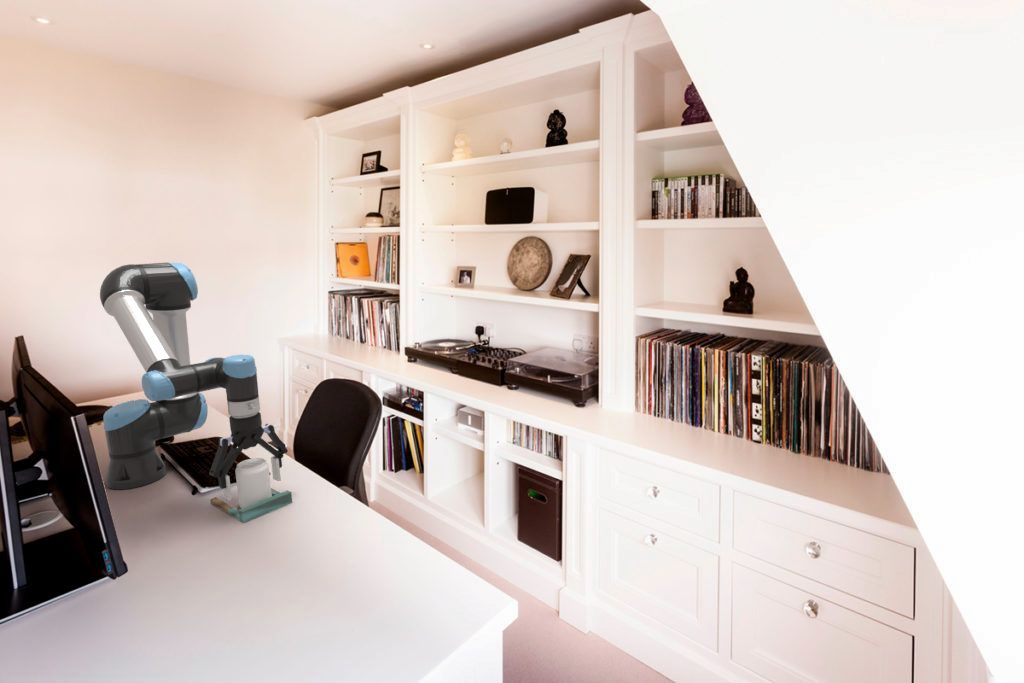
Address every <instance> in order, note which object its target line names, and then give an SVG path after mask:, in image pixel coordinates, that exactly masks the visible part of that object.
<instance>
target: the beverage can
mask: <svg viewBox="0 0 1024 683" xmlns="http://www.w3.org/2000/svg"><path fill="white" fill-rule="evenodd" d="M269 468H270V467H269V463H268V462H267V460H266V459H265V458H260V457H253V458H249V459H245V460H242V461H240V462H238V464H236V468H235V473H234V474H235V478H236V489H237V494H238V495H237V496H238V504H239V508H240V509H242V508H245V507H247V506H250V505H252V504H255V503H257V502H260V501H262V500H265V499H267V498H269V497H272V494H271V488H272V487H271V477H270V469H269Z"/></svg>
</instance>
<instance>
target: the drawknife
mask: <svg viewBox="0 0 1024 683" xmlns="http://www.w3.org/2000/svg"><path fill="white" fill-rule="evenodd" d="M271 494H272V497H269V498H267V499H265V500H262V501H260V502H257V503H255V504H252V505H250V506H247V507H245V508H240V509H237V508H235V507H233V506H232V505H230V504H229V503H227V502H225V501H224V500H222V499H221V498H218V497H217V496H215V497H213V498H210V504H211V505H213V506H214V507H216V508H218V509H219V510H221V511H223V512H224V513H226V514H228V515H230V516H231V517H233V518H234V519H236V520H238V521H240V522H241V523H243V524H245V523H247V522H250V521H253V520H254V519H257V518H259V517H262V516H264V515H266V514H268V513H271V512H273V511H275V510H278V509H280V508H283V507H285V506H287V505H289V504H291V503H293V498H292V491H289V490H285V491H282V492H280V491H278V490H276V489H274V488H272V487H271Z"/></svg>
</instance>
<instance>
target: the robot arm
mask: <svg viewBox="0 0 1024 683" xmlns="http://www.w3.org/2000/svg"><path fill="white" fill-rule="evenodd" d="M99 290H100V291H99V298H100V302H101V305H102V307H103V309H104V311H105V312H106V314H108V315H109V316H111V317H114V320H115V321H116V323H117V324H118V326H119V328H120V330H121V331H122V333H123V335H124V337H125V338H126V340H127V342H128V344H129V345H130V347H131V349H132V351H133V352H134V354H135V356H136V358H137V360H138V361H139V363H140V364H141V366H142V368H143V369H144V371H145V373H143V375H142V377H141V386H142V390H143V393H144V395H145V397H146V399H145V398H142V399H136V400H135V399H134V400H129V401H128V400H127V401H125V402H122V403H119V404H116V405H114V406H112V407H110V408H109V409H107V410H106V411H105V412H104V414H103V419H102V420H103V430H104V433H105V434H104V435H105V439H106V446H107V451H108V456H109V457H108V458H109V461H108V466H107V470H106V475H105V485H106V487H107V488H109V489H112V490H127V489H134V488H138V487H143V486H146V485H149V484H152V483H154V482H157V481H158V480H160V479H162V478H163V477H164V476H166V475H167V468H166V464H165V463H164V461H163V459H162V458H161V456H160V454H159V453H158V451H157V446H156V441H158V440H162V439H165V438H170V437H173V436H178V435H180V434H185V433H190V432H192V431H194V430H198V429H200V428H202V427H203V426H204V425H205V424H206V421H207V419H208V411H209V410H208V404H207V400H206V398H205V395H204V394H202V392H206V391H210V390H215V389H219V388H222V389H224V390H225V393H226V394H225V395H226V401H227V409H228V410H227V411H228V416H229V428H230V432H231V433H230V436H228V437H222V436H221V437H219V438H218V447H217V450H216V452H215V454H214V459H213V461H212V465H211V467H210V470H209V472H208V475H209V476H211V477H213V478H215V479H216V478H217V481H218V487H219V489H221V490H222V491H223V498H224V499H226V500H228V501H231V500H233V496H232V488H231V482H230V481H231V480H230V475H228V473H229V470H230V469H231V467H232V466H233V464H234V463H235V461H236V459H237V457H238V455H240V454H241V453H242V451H243V450H248V449H250V448H255V447H257V446H258V445H259V446H260V447H262V448H263V449H264V450H266V451H267V452H269V453H270V454H271V455H273V456H271V457H270V462H271V472H272V479H273V480H274V481H277V482H280V481H281V471H280V470H281V468H282V466H283V462H282V461H283V460H282V458H284V455H285V454H287V453H288V452H289V451H288V449H287V447H286V446H285V444H284V443H283V442H282V440H281V439H280V437H279V436H278V434H277V433H276V431H275V426H274V425H273V424H270V423H265V424H264V426H263V421H262V413H261V412H260V411H261V406H260V405H261V404H260V396H259V386H258V374H257V372H258V371H257V366H256V361H255V360H256V359H255V358H254V356H252V355H250V354H234V355H230V356H227V357H225V358H224V357H210V358H208V359H207V360H205V361H203V362H197V363H192V364H191V356H190V355H191V354H190V347H189V346H190V345H189V335H188V322H187V312H188V311H189V310H190V309H191V307H192V306H191V301H194V300H196V299H197V298H198V294H199V293H198V292H199V291H198V290H199V288H198V284H197V280H196V278H195V275H194V273H193V272H192V270H191V269H190V268H189V266H187V265H186V264H184V263H183V262H182V263H181V262H157V263H155V262H154V263H140V264H139V263H137V264H124V265H121V266H118V267H116V268H115V269H113V270H111V271H110V272H109V273H108V274H107V275H106V277H104V279H103V281H102V283H101V286H100V289H99ZM151 314H152V316H151ZM150 401H151V402H150ZM264 433H265V434H267V436H268V437H269V439H270V440H271V441H272V443H273V444H274V446H275V447H276V448H275V447H273V446H272V445H270V444H269V443H268V442H267V440H264V439H263V438H262V437H263V435H264ZM231 442H232V445H231ZM230 445H231V446H230ZM229 446H230V448H229ZM228 449H229V451H228ZM227 451H228V453H227Z"/></svg>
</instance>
